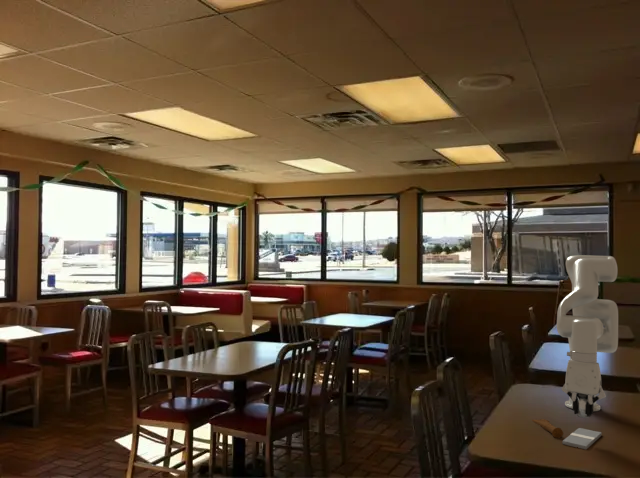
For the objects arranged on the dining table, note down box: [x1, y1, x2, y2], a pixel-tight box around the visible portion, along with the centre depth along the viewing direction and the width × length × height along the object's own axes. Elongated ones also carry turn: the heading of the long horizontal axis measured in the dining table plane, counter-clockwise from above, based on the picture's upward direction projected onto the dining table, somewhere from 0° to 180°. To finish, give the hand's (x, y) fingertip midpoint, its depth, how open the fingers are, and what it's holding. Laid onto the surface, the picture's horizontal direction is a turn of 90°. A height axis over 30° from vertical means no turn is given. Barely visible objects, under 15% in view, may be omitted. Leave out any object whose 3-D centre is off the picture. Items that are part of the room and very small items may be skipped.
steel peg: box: [576, 393, 589, 419], centre depth 185 cm, size 3×3×8 cm
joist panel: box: [562, 427, 602, 450], centre depth 185 cm, size 18×7×1 cm, turn 140°
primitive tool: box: [531, 418, 564, 439], centre depth 196 cm, size 19×6×4 cm, turn 0°
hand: (582, 413), depth 185 cm, fingers closed on steel peg, 3 cm apart
